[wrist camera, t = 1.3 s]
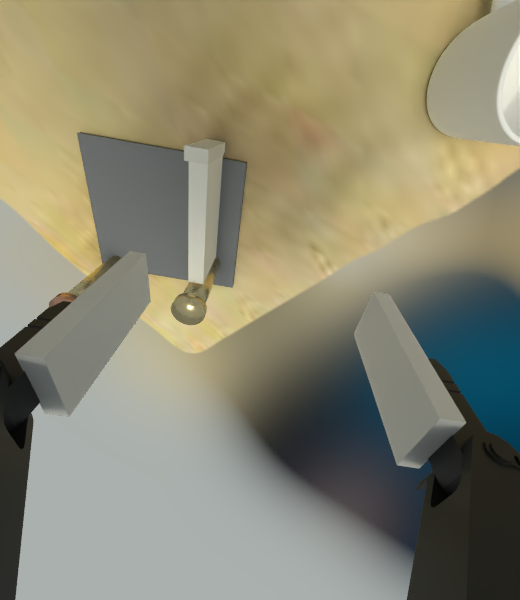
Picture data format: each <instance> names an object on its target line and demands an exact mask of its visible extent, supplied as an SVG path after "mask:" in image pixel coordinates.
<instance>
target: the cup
mask: <svg viewBox="0 0 520 600" xmlns="http://www.w3.org/2000/svg"><path fill="white" fill-rule="evenodd" d="M427 110H428V114H429V117H430V119H431V121H432V123H433V125H434V126H435V127H436V128H437V129H438V130H439V131H440V132H442V133H443V134H445V135H447V136H450V137H453V138H458V139H465V140H474V141H482V142H490V143H498V144H506V145H514V146H520V0H516V1H515V0H493V1H492V7H491V12H490V14H488V15H486V16H484V17H482V18H480V19H479V20H477V21H476V22H474V23H472V24H471V25H470V26H468V27H467V28H466V29H464V30H463V31H462V32H461V33H460V34H459V35H458V36H457V37H456V38H455V39H454V40H453V41H452V42H451V43H450V44H449V45H448V47H447V48H446V49H445V51H444V52H443V54H442V55H441V57H440V58H439V60H438V62H437V64H436V66H435V68H434V70H433V73H432V75H431V78H430V81H429V85H428V90H427Z"/></svg>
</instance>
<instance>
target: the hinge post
mask: <svg viewBox="0 0 520 600" xmlns="http://www.w3.org/2000/svg"><path fill="white" fill-rule="evenodd" d="M219 269H220V261H219V259H218V258H217V257H216V258H215V260H214V262H213V264H212V266H211V269H210V271H209V273H208V275H207V277H206V279H205V281H204V284H199V283H193V282H189V284H188V286H187V287H186V289H185V291H184V293H183V294H180V295H178V296H177V297H176V299H175V300H174V302H173V304H172V306H171V311H172V314H173V316H174V317H175V318H176V319H177V320H178V321H179V322H181V323H183V324H187V325H195V324H198V323H200V322H201V321H202V320H203V319H204V317H205V314H206V311H207V307H206V304H205V303H206V300H207V298H208V296H209V293H210V291H211V288H212V286H213V283H214V281H215V278H216V276H217V273H218V271H219Z"/></svg>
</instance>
